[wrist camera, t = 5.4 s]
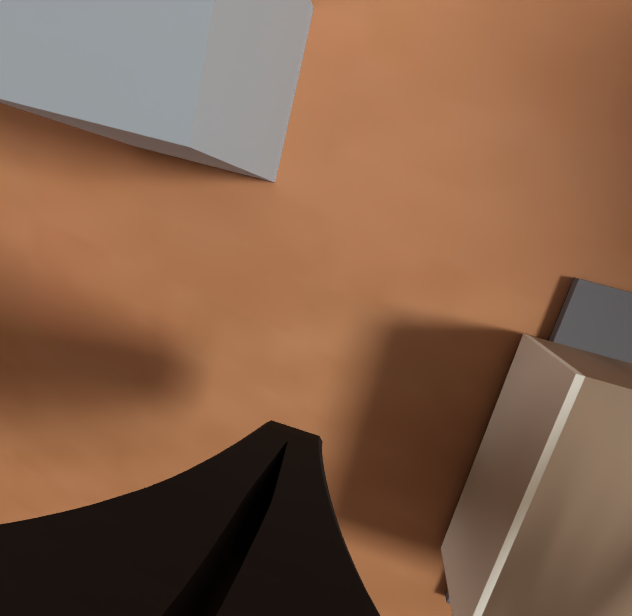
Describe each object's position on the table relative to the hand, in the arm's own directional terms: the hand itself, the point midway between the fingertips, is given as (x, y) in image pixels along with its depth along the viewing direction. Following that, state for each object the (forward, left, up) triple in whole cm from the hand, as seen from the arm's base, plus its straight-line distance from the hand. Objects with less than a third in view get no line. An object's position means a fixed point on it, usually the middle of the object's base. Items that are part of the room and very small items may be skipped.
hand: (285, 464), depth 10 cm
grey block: (+9, +5, -4) cm, 11 cm away
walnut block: (0, -6, -2) cm, 6 cm away
